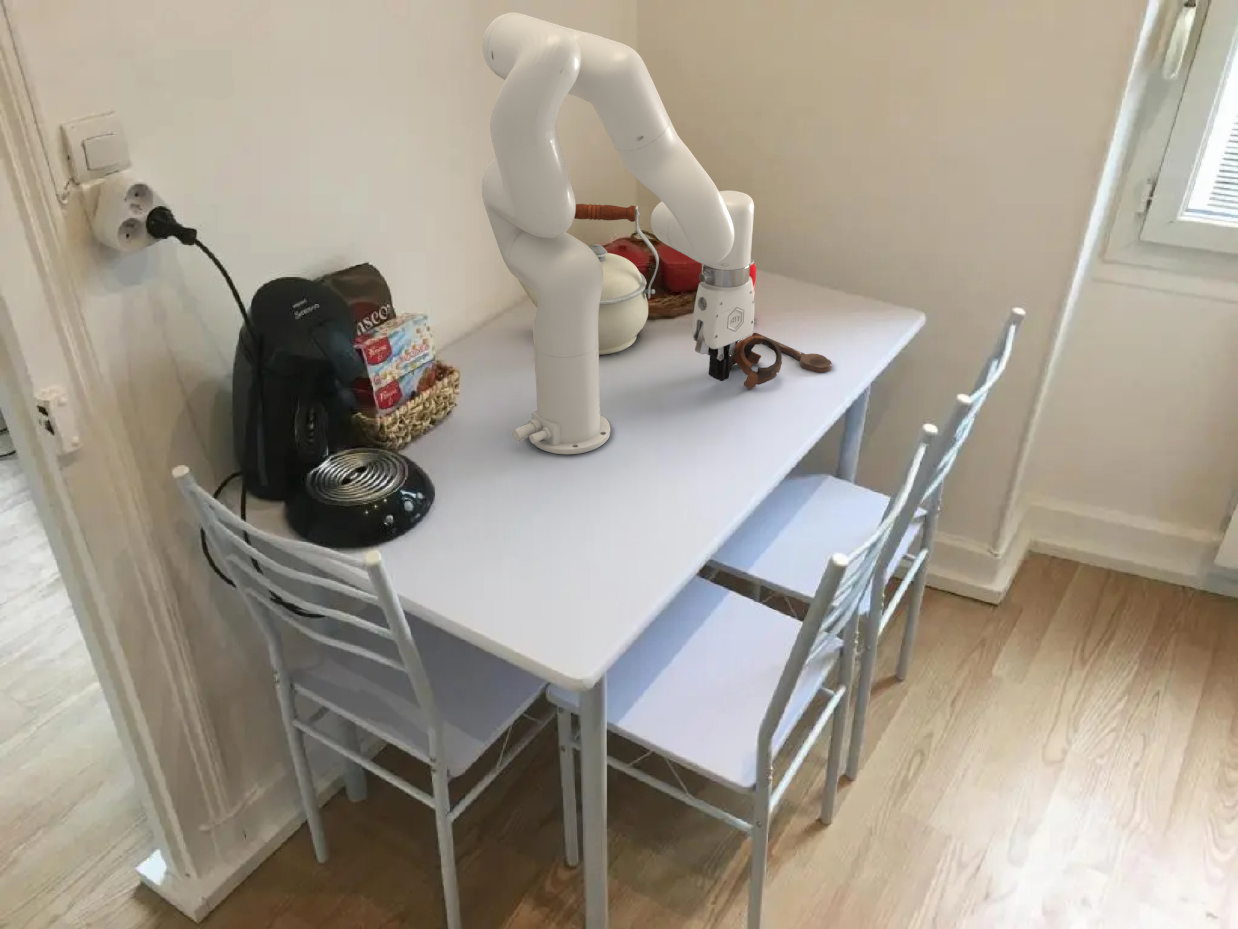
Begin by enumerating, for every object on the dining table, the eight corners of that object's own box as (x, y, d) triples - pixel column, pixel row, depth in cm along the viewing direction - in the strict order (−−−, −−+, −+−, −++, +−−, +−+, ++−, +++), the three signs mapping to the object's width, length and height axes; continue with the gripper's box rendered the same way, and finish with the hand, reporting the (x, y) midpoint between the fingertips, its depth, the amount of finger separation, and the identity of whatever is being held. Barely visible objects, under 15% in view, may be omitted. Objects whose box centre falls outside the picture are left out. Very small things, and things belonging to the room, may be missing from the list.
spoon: (743, 341, 191) (744, 335, 191) (761, 334, 194) (761, 328, 193) (819, 375, 180) (820, 369, 180) (837, 367, 183) (837, 360, 182)
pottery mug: (773, 363, 185) (789, 336, 178) (768, 408, 180) (783, 382, 173) (707, 346, 184) (720, 318, 177) (699, 390, 179) (712, 363, 172)
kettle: (662, 319, 199) (664, 189, 186) (651, 364, 184) (652, 225, 170) (531, 313, 202) (524, 184, 189) (510, 356, 187) (500, 219, 174)
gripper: (708, 292, 159) (702, 399, 169) (775, 267, 168) (766, 371, 178) (674, 277, 164) (670, 382, 174) (740, 254, 172) (733, 356, 182)
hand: (718, 376), depth 176 cm, fingers closed
